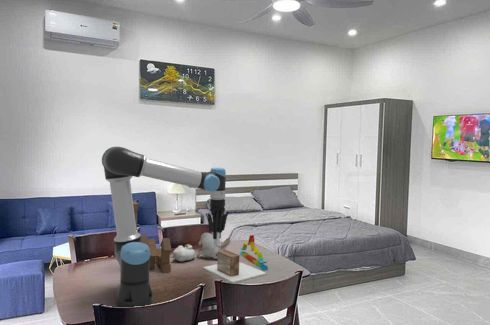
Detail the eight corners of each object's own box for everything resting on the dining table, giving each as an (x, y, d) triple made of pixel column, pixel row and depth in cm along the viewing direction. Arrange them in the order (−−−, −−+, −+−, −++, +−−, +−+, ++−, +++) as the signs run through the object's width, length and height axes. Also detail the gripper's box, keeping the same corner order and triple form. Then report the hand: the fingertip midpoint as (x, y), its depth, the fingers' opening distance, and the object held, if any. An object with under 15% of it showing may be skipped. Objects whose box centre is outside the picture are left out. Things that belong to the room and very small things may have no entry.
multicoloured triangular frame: (268, 270, 199) (269, 242, 198) (262, 270, 197) (263, 243, 197) (244, 254, 226) (245, 230, 226) (240, 254, 225) (240, 230, 224)
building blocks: (134, 280, 176) (135, 208, 175) (126, 264, 199) (127, 200, 197) (173, 275, 185) (175, 206, 183) (162, 261, 207) (163, 199, 206)
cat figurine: (195, 241, 215) (172, 242, 205) (200, 251, 209) (178, 253, 200) (188, 253, 218) (166, 255, 208) (194, 263, 213) (171, 265, 203)
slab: (230, 276, 183) (231, 257, 183) (217, 270, 193) (217, 251, 192) (238, 274, 187) (239, 255, 186) (224, 268, 196) (225, 249, 196)
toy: (194, 260, 212) (228, 262, 208) (194, 233, 211) (228, 235, 207) (199, 256, 220) (231, 257, 216) (199, 230, 220) (231, 232, 216)
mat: (232, 283, 177) (232, 281, 177) (203, 268, 197) (203, 267, 197) (266, 274, 191) (266, 273, 191) (235, 261, 211) (235, 260, 211)
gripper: (211, 200, 176) (210, 249, 177) (232, 198, 184) (231, 244, 185) (202, 198, 182) (201, 245, 183) (223, 196, 190) (222, 241, 191)
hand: (216, 245), depth 184 cm, fingers closed
